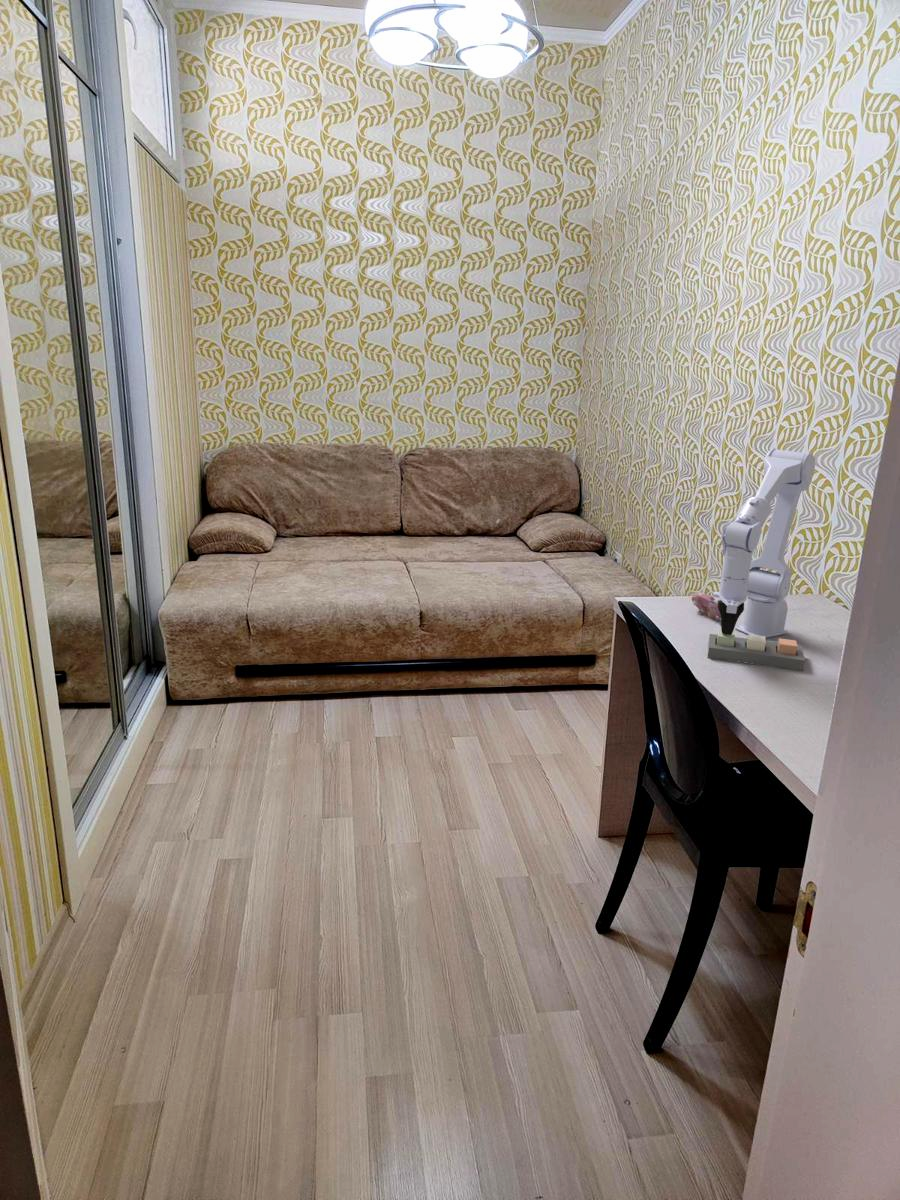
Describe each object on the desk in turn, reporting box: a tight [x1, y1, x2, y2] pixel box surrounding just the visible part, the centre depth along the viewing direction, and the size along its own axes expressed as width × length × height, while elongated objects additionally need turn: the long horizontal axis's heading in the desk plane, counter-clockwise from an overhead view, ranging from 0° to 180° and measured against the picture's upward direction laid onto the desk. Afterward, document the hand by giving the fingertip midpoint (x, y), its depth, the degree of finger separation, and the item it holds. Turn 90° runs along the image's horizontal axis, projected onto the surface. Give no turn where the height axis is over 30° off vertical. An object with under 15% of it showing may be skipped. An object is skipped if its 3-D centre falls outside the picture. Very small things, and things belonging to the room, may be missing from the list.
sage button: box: [717, 630, 736, 647], centre depth 181 cm, size 4×4×3 cm
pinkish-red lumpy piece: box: [691, 592, 721, 619], centre depth 205 cm, size 10×5×7 cm, turn 24°
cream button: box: [746, 634, 767, 651], centre depth 180 cm, size 4×4×3 cm
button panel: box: [707, 633, 806, 672], centre depth 180 cm, size 20×9×2 cm, turn 72°
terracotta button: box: [777, 638, 798, 655], centre depth 178 cm, size 4×4×3 cm
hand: (726, 633), depth 181 cm, fingers closed
